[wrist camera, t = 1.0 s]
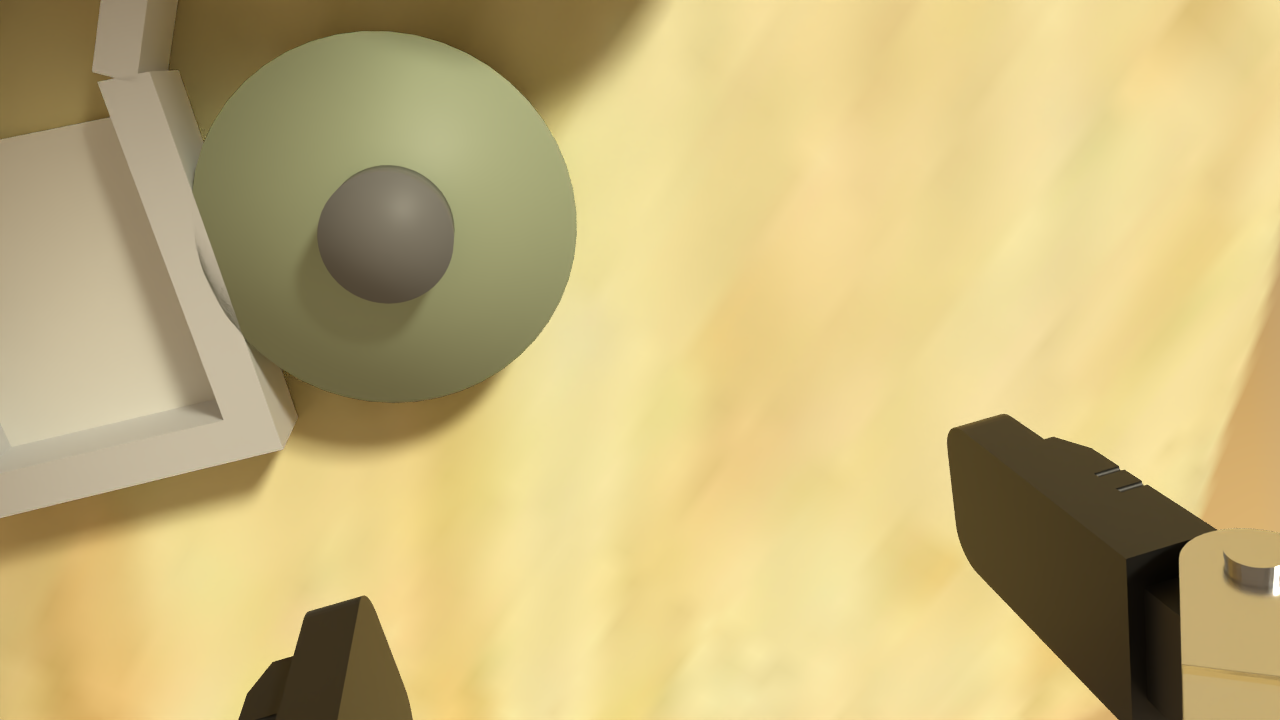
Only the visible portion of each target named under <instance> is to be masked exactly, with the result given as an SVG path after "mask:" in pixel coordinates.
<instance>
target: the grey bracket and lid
mask: <svg viewBox="0 0 1280 720" xmlns="http://www.w3.org/2000/svg"><path fill="white" fill-rule="evenodd" d="M177 5H178V0H101V2H100V10H99V18H98V26H97V34H96V43H95V51H94V59H93V67H92V72H94V73H98V74H102V75H105V76H109V77H113V78H114V79H109V80H104V81H99V82H97V83H98V85H99V88H100V91H101V93H102V96H103V99H104V101H105V104H106V107H107V109H108V112H109V115H110V117H109V118H104V119H99V120H94V121H89V122H84V123H79V124H74V125H69V126H64V127H59V128H54V129H49V130H44V131H39V132H34V133H29V134H25V135H20V136H15V137H10V138H5V139H0V518H3V517H7V516H11V515H15V514H19V513H23V512H27V511H31V510H36V509H40V508H44V507H48V506H52V505H56V504H60V503H64V502H69V501H73V500H77V499H81V498H85V497H89V496H93V495H97V494H102V493H106V492H110V491H114V490H118V489H122V488H126V487H130V486H135V485H139V484H143V483H147V482H151V481H155V480H159V479H163V478H168V477H172V476H176V475H180V474H184V473H188V472H192V471H196V470H200V469H205V468H209V467H213V466H217V465H221V464H225V463H229V462H233V461H238V460H242V459H246V458H250V457H254V456H258V455H262V454H266V453H271V452H275V451H279V450H283V449H284V447H285V445H286V442H287V440H288V438H289V436H290V434H291V432H292V430H293V427H294V425H295V423H296V421H297V419H298V416H297V413H296V410H295V407H294V404H293V401H292V398H291V395H290V392H289V389H288V387H287V384H286V381H285V378H284V375H283V372H282V369H283V370H284V371H286V372H288V373H289V374H291V375H293V376H294V377H296V378H298V379H299V380H302V381H304V382H306V383H308V384H311V385H313V386H315V387H317V388H320V389H322V390H325V391H328V392H331V393H334V394H338V395H341V396H344V397H349V398H354V399H360V400H365V401H373V402H388V403H399V402H417V401H422V400H428V399H434V398H439V397H443V396H446V395H449V394H452V393H456V392H459V391H462V390H464V389H467V388H469V387H471V386H473V385H475V384H478V383H480V382H482V381H484V380H486V379H487V378H489V377H491V376H492V375H494V374H495V373H497V372H499V371H500V370H502V369H503V368H505V367H506V366H507V365H508V364H510V363H511V362H512V361H513V360H515V359H516V358H517V357H518V356H520V355H521V354H522V353H523V352H524V351H525V349H526V348H527V347H528V346H529V345H530V344H531V343H532V342H533V341H534V340H535V339H536V338H537V336H538V335H539V334H540V332H541V331H542V330H543V328H544V327H545V326H546V324H547V323H548V322H549V320H550V318H551V317H552V315H553V313H554V311H555V309H556V308H557V306H558V304H559V302H560V300H561V298H562V295H563V292H564V290H565V287H566V285H567V282H568V280H569V276H570V272H571V268H572V264H573V260H574V253H575V244H576V236H577V231H576V207H575V200H574V194H573V187H572V184H571V180H570V177H569V173H568V170H567V166H566V163H565V161H564V159H563V156H562V154H561V152H560V149H559V147H558V145H557V142H556V141H555V139H554V137H553V136H552V134H551V132H550V130H549V129H548V127H547V125H546V124H545V122H544V120H543V119H542V118H541V116H540V115H539V114H538V113H537V111H536V110H535V109H534V107H533V106H532V105H531V104H530V102H529V101H528V100H527V99H526V98H525V97H524V96H523V95H522V94H521V93H520V92H519V91H518V90H517V89H516V88H515V87H514V86H513V85H512V84H511V83H510V82H509V81H508V80H506V79H505V78H504V77H502V76H501V75H500V74H499V73H497V72H496V71H495V70H493V69H492V68H491V67H489V66H488V65H486V64H484V63H483V62H481V61H479V60H478V59H476V58H474V57H473V56H471V55H469V54H467V53H466V52H463V51H461V50H458V49H456V48H454V47H451V46H449V45H447V44H444V43H442V42H439V41H435V40H431V39H428V38H424V37H421V36H417V35H411V34H404V33H397V32H390V31H360V32H352V33H344V34H336V35H332V36H329V37H325V38H321V39H318V40H314V41H310V42H308V43H306V44H303V45H301V46H299V47H296V48H294V49H292V50H289V51H287V52H285V53H284V54H282V55H280V56H279V57H277V58H275V59H274V60H272V61H271V62H269V63H267V64H266V65H264V66H263V67H262V68H260V69H259V70H258V71H257V72H256V73H254V74H253V75H252V76H251V77H250V78H248V79H247V80H246V81H245V82H244V83H243V84H242V85H241V86H240V87H239V88H238V90H237V91H236V92H235V93H234V94H233V95H232V96H231V97H230V99H229V100H228V101H227V102H226V104H225V105H224V107H223V108H222V110H221V111H220V113H219V114H218V116H217V117H216V119H215V120H214V122H213V124H212V126H211V128H210V130H209V133H208V135H207V137H206V139H205V141H204V142H203V139H202V136H201V133H200V131H199V128H198V125H197V122H196V119H195V116H194V113H193V110H192V107H191V104H190V101H189V99H188V96H187V93H186V90H185V87H184V84H183V81H182V78H181V75H180V72H179V70H168V68H169V61H170V54H171V47H172V40H173V33H174V26H175V19H176V12H177Z"/></svg>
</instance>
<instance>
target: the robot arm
mask: <svg viewBox="0 0 1280 720" xmlns="http://www.w3.org/2000/svg"><path fill="white" fill-rule="evenodd" d="M947 448H948V458H949V466H950V475H951V484H952V493H953V502H954V511H955V520H956V527H957V533H958V537H959V540H960V543H961V546H962V548H963V551H964V553H965V555H966V557H967V559H968V561H969V562H970V564H971V566H972V567H973V568H974V570H975V571H976V572H977V573H978V574H979V575H980V576H981V577H982V578H983V580H984V581H985V582H986V583H987V584H988V585H989V586H990V587H991V588H992V589H993V590H994V591H995V592H996V593H997V594H998V595H999V596H1000V597H1001V598H1002V599H1003V600H1004V601H1005V602H1006V603H1007V604H1008V605H1009V606H1010V608H1011V609H1012V610H1013V611H1014V612H1015V613H1016V614H1017V615H1018V616H1019V617H1020V618H1021V619H1022V620H1023V621H1024V622H1025V623H1026V624H1027V625H1028V626H1029V627H1030V628H1031V629H1032V630H1033V631H1034V632H1035V633H1036V635H1037V636H1038V637H1039V638H1040V639H1041V640H1042V641H1043V642H1044V643H1045V644H1046V645H1047V646H1048V647H1049V648H1050V649H1051V650H1052V651H1053V652H1054V653H1055V654H1056V655H1057V656H1058V657H1059V658H1060V659H1061V660H1062V662H1063V663H1064V664H1065V665H1066V666H1067V667H1068V668H1069V669H1070V670H1071V671H1072V672H1073V673H1074V674H1075V675H1076V676H1077V677H1078V678H1079V679H1080V680H1081V681H1082V682H1083V683H1084V684H1085V685H1086V686H1087V687H1088V688H1089V690H1090V691H1091V692H1092V693H1093V694H1094V695H1095V696H1096V697H1097V698H1098V699H1099V700H1100V701H1101V702H1102V703H1103V704H1104V705H1105V706H1106V707H1107V708H1108V709H1109V710H1110V711H1111V712H1112V713H1113V714H1114V715H1115V716H1116V717H1117V719H1119V720H1280V533H1278V532H1273V531H1267V530H1259V529H1245V528H1242V529H1241V528H1236V529H1223V530H1217V529H1215V528H1213V527H1212V526H1210V525H1209V524H1207V523H1206V522H1204V521H1203V520H1201V519H1200V518H1198V517H1196V516H1195V515H1193V514H1192V513H1190V512H1189V511H1187V510H1186V509H1184V508H1183V507H1181V506H1180V505H1178V504H1176V503H1175V502H1173V501H1172V500H1170V499H1169V498H1167V497H1166V496H1164V495H1163V494H1161V493H1160V492H1158V491H1156V490H1155V489H1153V488H1152V487H1150V486H1149V485H1145V486H1144V485H1143V484H1142V481H1141V480H1139V479H1138V478H1136V477H1135V476H1133V475H1132V474H1130V473H1129V472H1127V471H1126V470H1120V469H1119V466H1118V465H1116V464H1115V463H1113V462H1112V461H1110V460H1109V459H1107V458H1106V457H1104V456H1103V455H1101V454H1099V453H1098V452H1096V451H1095V450H1093V449H1092V448H1089V447H1086V446H1082V445H1079V444H1076V443H1072V442H1069V441H1066V440H1062V439H1059V438H1056V437H1051V438H1047V439H1043V438H1041V437H1040V436H1038V435H1037V434H1036V433H1034V432H1033V431H1031V430H1030V429H1028V428H1027V427H1025V426H1024V425H1022V424H1021V423H1020V422H1018V421H1017V420H1015V419H1014V418H1012V417H1011V416H1009V415H1006V414H1000V415H997V416H994V417H990V418H987V419H983V420H980V421H976V422H973V423H969V424H966V425H962V426H959V427H955V428H953V429H951V430H950V431H949V434H948V438H947ZM239 720H413V719H412V713H411V708H410V704H409V700H408V696H407V693H406V690H405V687H404V684H403V682H402V679H401V676H400V674H399V671H398V669H397V666H396V663H395V661H394V658H393V655H392V653H391V650H390V648H389V645H388V642H387V640H386V637H385V635H384V632H383V629H382V627H381V624H380V621H379V619H378V616H377V614H376V611H375V609H374V607H373V605H372V603H371V601H370V600H369V599H368V597H366V596H361V597H357V598H354V599H350V600H347V601H343V602H340V603H336V604H333V605H329V606H326V607H322V608H319V609H315V610H312V611H309V612H307V613H306V615H305V617H304V620H303V624H302V627H301V631H300V634H299V638H298V642H297V645H296V649H295V652H294V656H292V657H289V658H285V659H282V660H278V661H275V662H272V664H271V665H270V666H269V667H268V669H267V670H266V671H265V672H264V674H263V675H262V676H261V677H260V679H259V680H258V681H257V682H256V684H255V685H254V686H253V687H252V688H251V690H250V691H249V692H248V693H247V696H246V699H245V702H244V705H243V708H242V711H241V714H240V717H239Z"/></svg>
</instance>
